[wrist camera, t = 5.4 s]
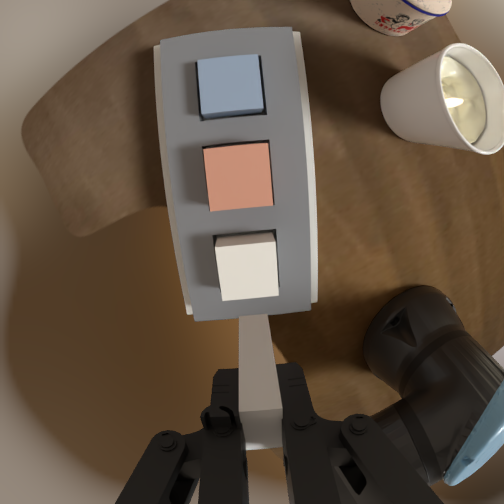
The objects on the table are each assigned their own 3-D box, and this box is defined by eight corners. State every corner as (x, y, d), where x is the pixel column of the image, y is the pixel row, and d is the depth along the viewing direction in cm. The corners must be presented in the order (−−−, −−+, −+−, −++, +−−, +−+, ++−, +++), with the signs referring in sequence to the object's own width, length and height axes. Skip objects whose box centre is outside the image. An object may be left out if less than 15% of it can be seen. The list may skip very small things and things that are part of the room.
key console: (315, 298, 33) (324, 316, 29) (188, 311, 33) (182, 330, 29) (298, 34, 23) (306, 19, 19) (155, 48, 23) (144, 35, 19)
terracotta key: (269, 199, 25) (273, 205, 23) (213, 205, 25) (210, 211, 23) (264, 144, 24) (268, 142, 21) (207, 150, 24) (203, 149, 21)
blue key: (260, 113, 24) (263, 108, 21) (205, 118, 24) (201, 114, 21) (255, 64, 22) (257, 54, 19) (201, 69, 22) (197, 60, 19)
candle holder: (442, 152, 28) (513, 160, 16) (376, 146, 27) (445, 147, 16) (435, 77, 24) (502, 61, 13) (368, 63, 24) (428, 28, 13)
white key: (275, 281, 28) (278, 295, 25) (224, 286, 28) (222, 300, 25) (271, 232, 26) (275, 241, 24) (217, 237, 26) (214, 247, 24)
